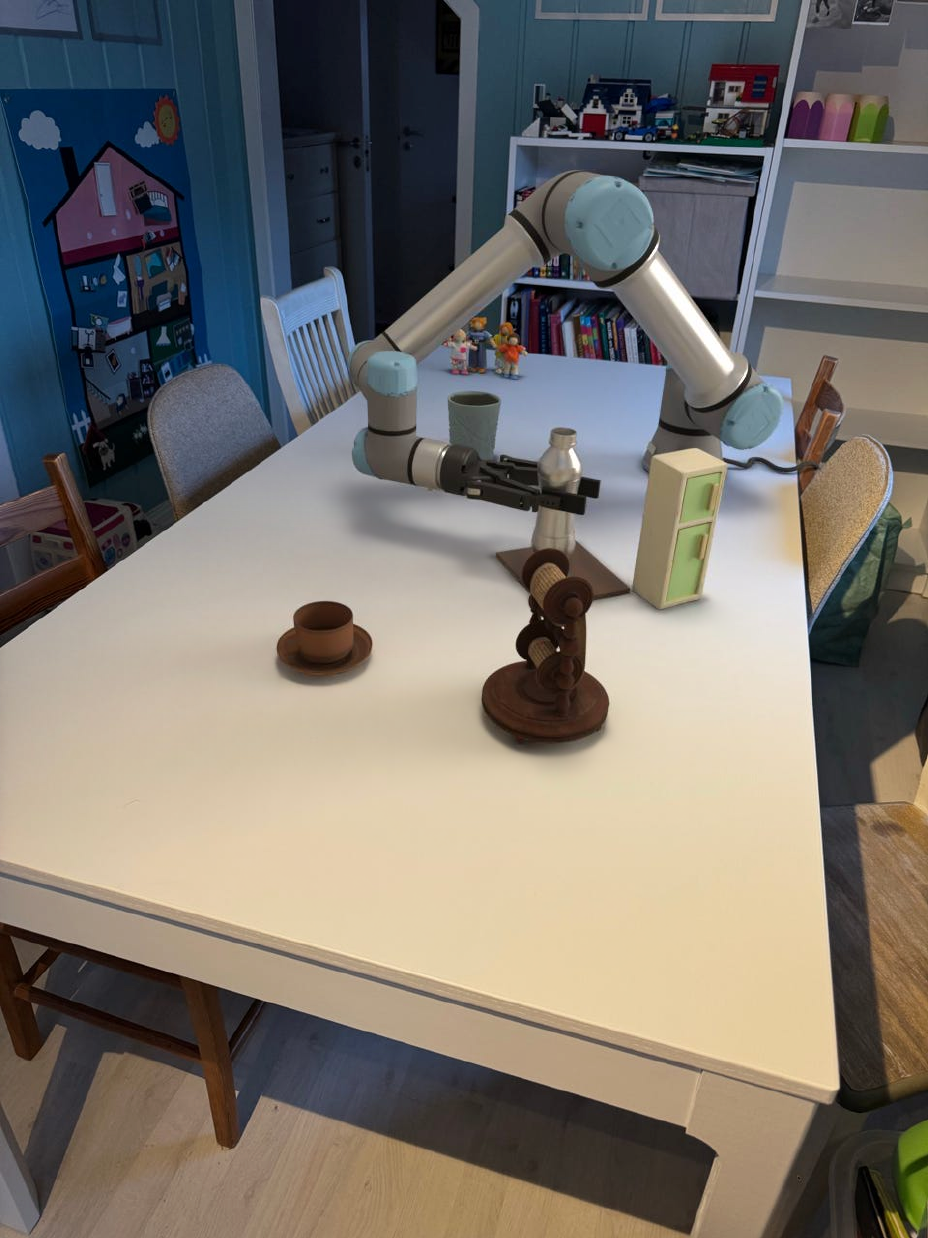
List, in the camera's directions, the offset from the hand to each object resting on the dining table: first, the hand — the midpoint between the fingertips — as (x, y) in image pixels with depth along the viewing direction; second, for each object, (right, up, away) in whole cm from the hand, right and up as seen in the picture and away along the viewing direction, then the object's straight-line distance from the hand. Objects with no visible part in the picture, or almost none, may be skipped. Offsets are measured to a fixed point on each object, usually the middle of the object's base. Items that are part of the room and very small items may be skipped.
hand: (591, 497), depth 128 cm
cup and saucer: (-36, -23, -15) cm, 45 cm away
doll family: (-13, +46, +99) cm, 110 cm away
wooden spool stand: (-9, -29, -24) cm, 38 cm away
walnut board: (-4, -11, +6) cm, 13 cm away
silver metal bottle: (-5, -8, +8) cm, 12 cm away
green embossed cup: (-17, +14, +46) cm, 51 cm away
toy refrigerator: (+11, -14, +1) cm, 18 cm away
